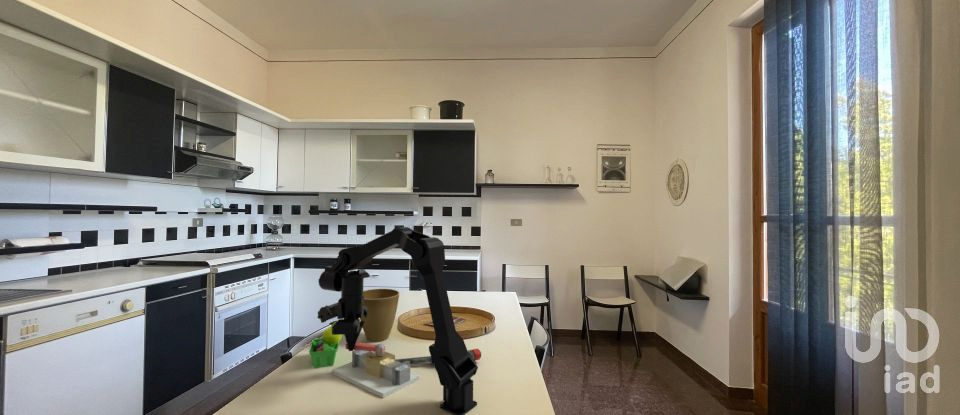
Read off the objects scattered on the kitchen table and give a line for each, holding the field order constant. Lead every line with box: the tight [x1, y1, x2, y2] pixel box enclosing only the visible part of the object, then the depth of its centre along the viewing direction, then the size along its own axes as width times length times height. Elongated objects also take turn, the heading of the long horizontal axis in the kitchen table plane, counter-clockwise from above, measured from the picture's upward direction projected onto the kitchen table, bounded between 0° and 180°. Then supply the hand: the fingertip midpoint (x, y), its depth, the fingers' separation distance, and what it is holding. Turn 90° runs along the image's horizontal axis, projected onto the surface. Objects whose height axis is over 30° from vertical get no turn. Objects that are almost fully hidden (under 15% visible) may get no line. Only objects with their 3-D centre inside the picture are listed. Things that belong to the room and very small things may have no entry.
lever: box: [344, 341, 386, 356], centre depth 101 cm, size 11×2×2 cm, turn 75°
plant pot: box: [359, 288, 400, 343], centre depth 128 cm, size 15×15×16 cm
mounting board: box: [331, 361, 420, 399], centre depth 99 cm, size 22×12×1 cm, turn 54°
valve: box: [395, 348, 482, 365], centre depth 110 cm, size 6×26×15 cm
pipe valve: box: [351, 350, 411, 385], centre depth 99 cm, size 20×5×5 cm, turn 54°
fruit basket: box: [308, 321, 343, 369], centre depth 109 cm, size 11×9×11 cm
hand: (350, 350), depth 99 cm, fingers closed
